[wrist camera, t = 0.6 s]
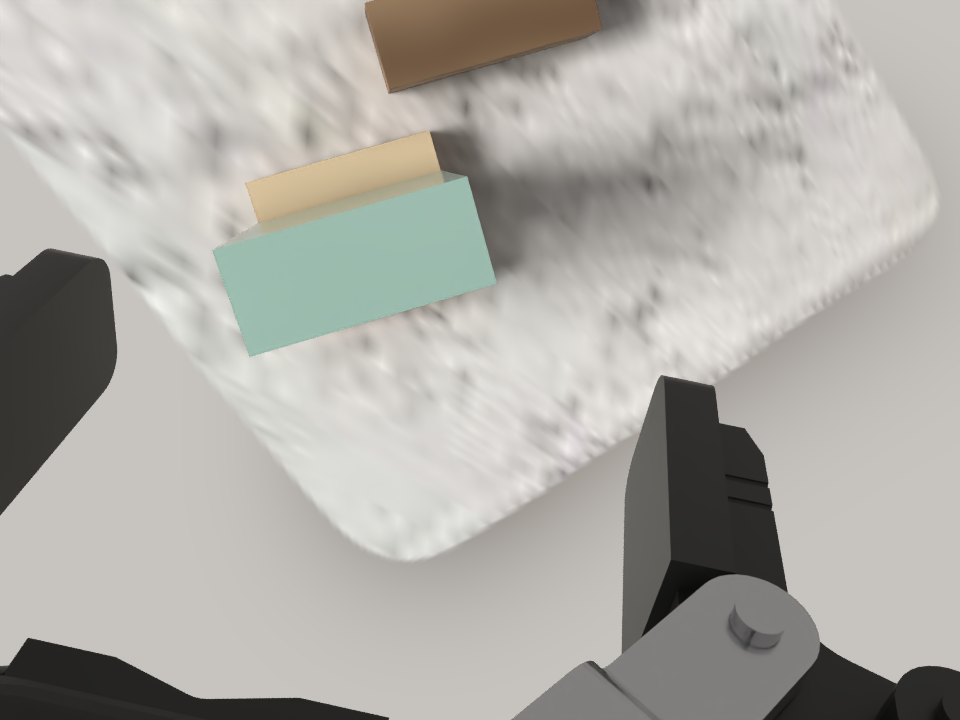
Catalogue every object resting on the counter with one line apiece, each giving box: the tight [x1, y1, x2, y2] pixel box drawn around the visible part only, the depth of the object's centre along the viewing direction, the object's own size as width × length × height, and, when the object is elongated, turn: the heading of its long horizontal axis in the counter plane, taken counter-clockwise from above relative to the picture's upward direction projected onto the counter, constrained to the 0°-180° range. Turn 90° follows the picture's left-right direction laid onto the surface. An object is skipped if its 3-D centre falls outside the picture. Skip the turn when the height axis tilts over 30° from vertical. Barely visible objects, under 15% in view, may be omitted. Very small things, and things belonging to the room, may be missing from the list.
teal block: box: [212, 170, 497, 357], centre depth 29 cm, size 3×7×10 cm, turn 106°
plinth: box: [245, 131, 440, 223], centre depth 35 cm, size 6×7×2 cm
